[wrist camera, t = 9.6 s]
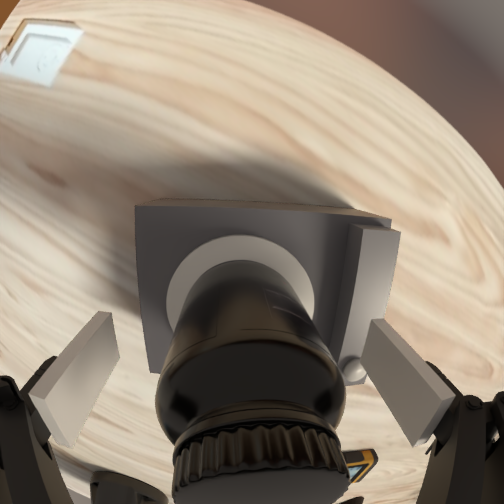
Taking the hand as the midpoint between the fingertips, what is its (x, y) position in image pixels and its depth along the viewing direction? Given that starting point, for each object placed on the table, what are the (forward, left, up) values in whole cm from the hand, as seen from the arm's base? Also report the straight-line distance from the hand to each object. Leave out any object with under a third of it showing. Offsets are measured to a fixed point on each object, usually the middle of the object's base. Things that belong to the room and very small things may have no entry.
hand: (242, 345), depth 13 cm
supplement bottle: (0, 0, -4) cm, 4 cm away
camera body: (+1, 0, -10) cm, 11 cm away
